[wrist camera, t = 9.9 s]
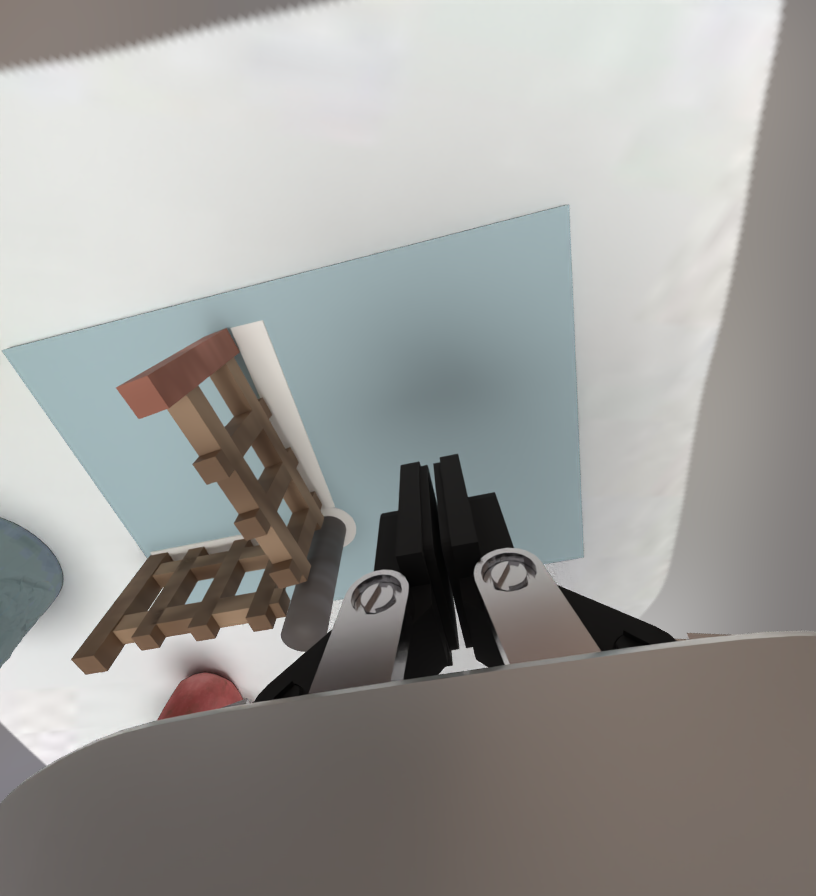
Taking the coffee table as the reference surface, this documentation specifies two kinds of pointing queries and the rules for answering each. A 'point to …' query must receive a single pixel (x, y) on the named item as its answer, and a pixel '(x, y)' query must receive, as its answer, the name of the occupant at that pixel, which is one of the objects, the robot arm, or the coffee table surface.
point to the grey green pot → (24, 584)
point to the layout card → (350, 392)
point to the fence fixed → (217, 599)
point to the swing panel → (234, 449)
